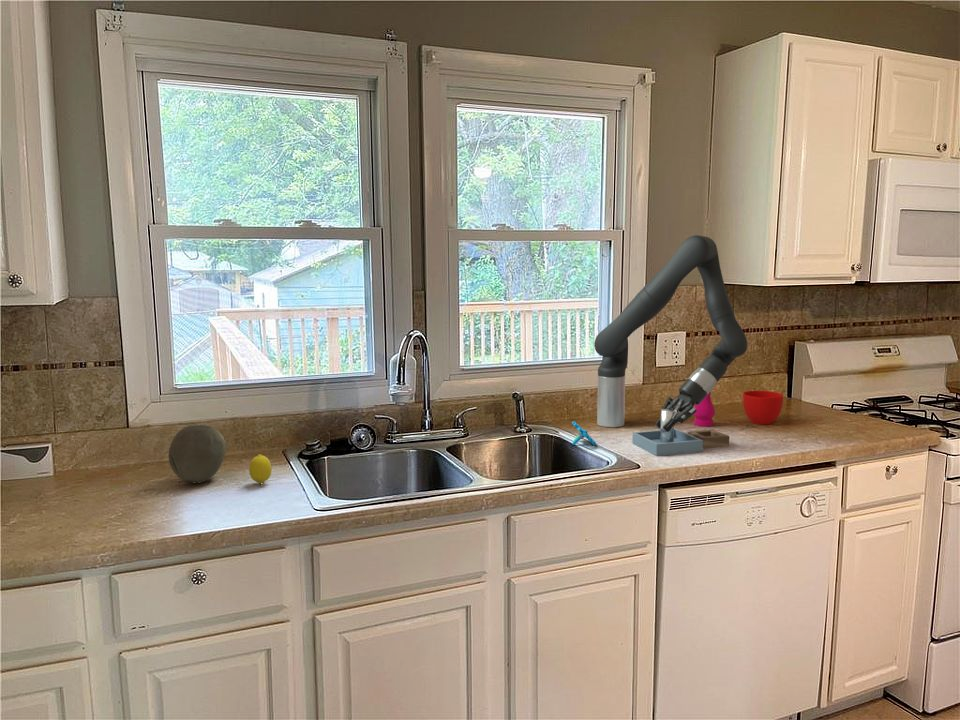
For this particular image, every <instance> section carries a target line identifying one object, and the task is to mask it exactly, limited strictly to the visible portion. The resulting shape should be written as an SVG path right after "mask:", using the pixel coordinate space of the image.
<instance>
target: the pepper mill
mask: <svg viewBox="0 0 960 720" xmlns="http://www.w3.org/2000/svg"><path fill="white" fill-rule="evenodd" d="M712 391H713V389H712V390H711V391H710V392H709V394H708V395H707V396H706V397H705V398H704V399H703V400H702V402H701V403H700V404H699V405H694V406H693V407H694V408H695V409H696V410H697V412H696V413H694V414H693V416H694V417H695V418H694V419H693V424H694V425H695V426H696V427H703V428H704V427H705V428H706V427H713V425H714V420H713V419H712V418H713V417H714V416H715V414H716V410H715V406H714V404H713V402H712V398H711V397H712V396H711V394H712Z"/></svg>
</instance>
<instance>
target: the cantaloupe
mask: <svg viewBox="0 0 960 720" xmlns="http://www.w3.org/2000/svg"><path fill="white" fill-rule="evenodd" d="M226 444H227V443H226V440H225V438H224V436H223V435H222V434H221V433H220V431H218V429H216V428H215V427H214V426H210V425H205V424H195V425H187V426H185V427H184V428H182V429H179V431H178V432H177V433H175V435H174V437H173V439H172V440H171V443H170V445H169V449H168V464H169V465H170V468H171V470H172V472H173V473H174V475H176V476H177V477H178V478H179V480H182V481H183V482H189V483H192V482H195V483H194V484H200V483H199V482H202V483H204V482H206V481H208V480H209V479H211V478H213V476H215V475H216V474H217V473H218V471H219V469H220V468H221V466H222V464H223V462H224V458H225V455H226V450H227V449H226V448H227V447H226V446H227V445H226Z"/></svg>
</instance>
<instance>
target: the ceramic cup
mask: <svg viewBox="0 0 960 720" xmlns="http://www.w3.org/2000/svg"><path fill="white" fill-rule="evenodd" d="M783 403H784V395H783V394H782V393H781V392H776V391H770V390H748V391H743V393H742V405H743V409H744V413H745V415H746V416H747V418H748V419H749V421H751V423H753V424H756V425H763V426H764V425H766V426H767V425H771V424H772V423H774V421H775V420H776V419H777V418H778V417H779V415H780V413H781V411H782V409H783Z"/></svg>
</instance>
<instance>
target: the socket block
mask: <svg viewBox="0 0 960 720" xmlns="http://www.w3.org/2000/svg"><path fill="white" fill-rule="evenodd" d="M686 433H687V434H689V435H692V436H694V437H696V438H699V439H701V440H703V449H707V448H709V449H710V448H718V447H719V448H720V447H728V446H729V447H730V435H727V434H726V433H725V434H724V432H723V433H722V432H720V431H718V430H716V429H704V430H690V431H689V430H688V431H686Z"/></svg>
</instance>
